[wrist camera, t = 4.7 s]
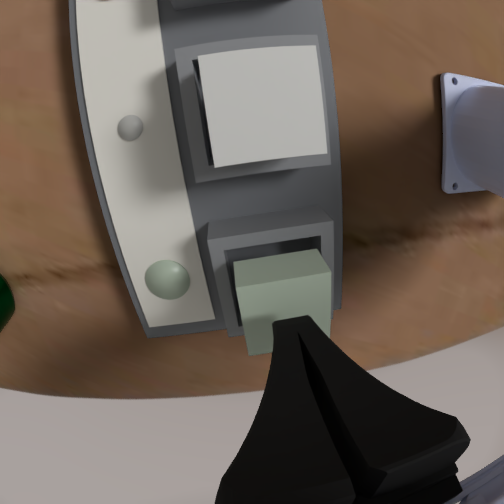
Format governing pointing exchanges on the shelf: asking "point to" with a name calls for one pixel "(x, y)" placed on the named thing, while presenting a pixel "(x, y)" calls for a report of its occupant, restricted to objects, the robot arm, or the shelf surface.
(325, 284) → the sage button
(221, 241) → the button board
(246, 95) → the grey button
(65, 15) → the shelf surface
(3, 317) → the soda can
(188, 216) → the pattern card
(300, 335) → the robot arm
